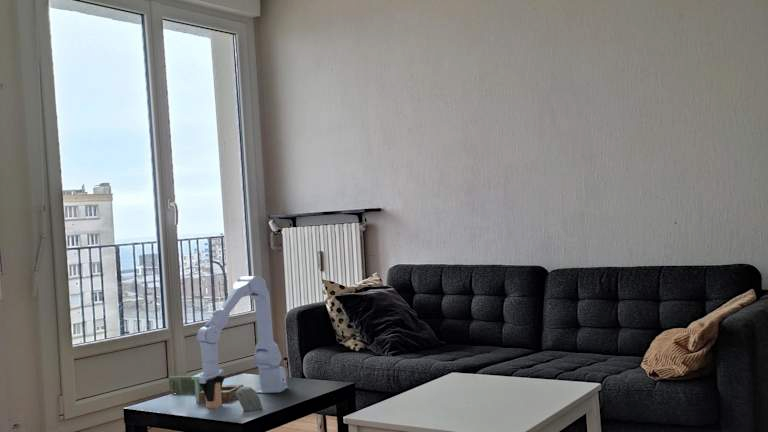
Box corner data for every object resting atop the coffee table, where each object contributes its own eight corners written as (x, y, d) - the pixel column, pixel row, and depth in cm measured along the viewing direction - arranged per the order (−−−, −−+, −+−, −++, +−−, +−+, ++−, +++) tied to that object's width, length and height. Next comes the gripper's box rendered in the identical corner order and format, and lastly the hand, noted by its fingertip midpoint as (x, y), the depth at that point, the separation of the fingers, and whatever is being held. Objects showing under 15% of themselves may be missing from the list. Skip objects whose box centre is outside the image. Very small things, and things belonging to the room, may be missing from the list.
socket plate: (243, 393, 296) (243, 384, 296) (229, 401, 285) (228, 392, 285) (214, 394, 299) (213, 385, 299) (199, 402, 288) (198, 393, 288)
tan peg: (222, 404, 281) (220, 382, 281) (216, 407, 277) (214, 384, 277) (211, 405, 282) (209, 382, 282) (206, 408, 278) (204, 385, 278)
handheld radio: (174, 392, 312) (229, 391, 304) (169, 394, 309) (225, 393, 301) (172, 375, 312) (228, 374, 304) (167, 377, 309) (223, 376, 300)
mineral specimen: (244, 404, 275) (246, 381, 275) (263, 411, 271) (266, 388, 270) (229, 409, 269) (232, 385, 268) (249, 416, 265) (252, 392, 264)
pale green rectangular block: (222, 394, 299) (220, 369, 299) (206, 402, 286) (203, 376, 286) (210, 394, 300) (208, 369, 300) (193, 403, 288) (191, 376, 288)
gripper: (209, 357, 288) (212, 394, 288) (189, 365, 273) (193, 404, 273) (227, 356, 286) (230, 394, 286) (208, 364, 272) (212, 404, 272)
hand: (213, 399), depth 279 cm, fingers open, 4 cm apart
